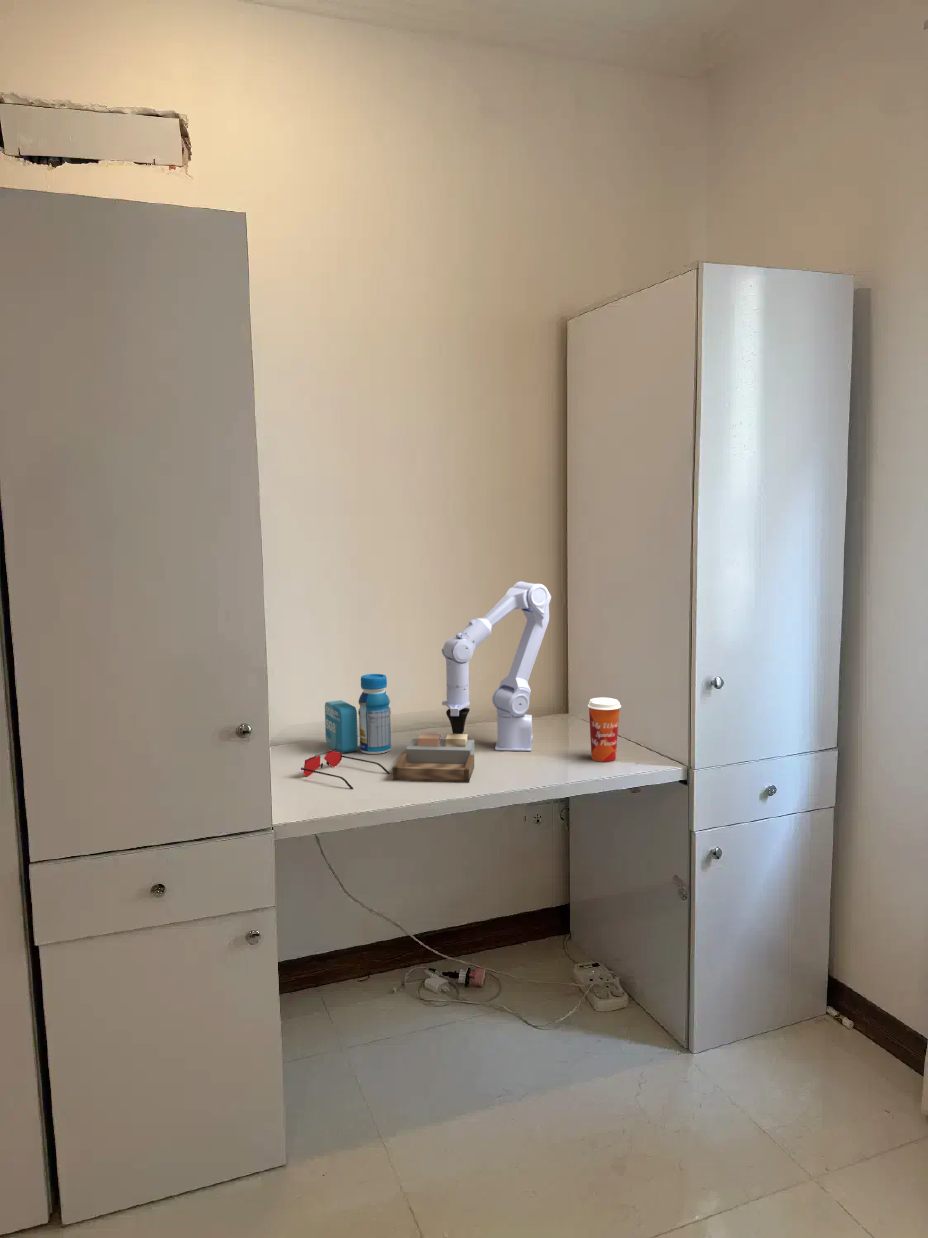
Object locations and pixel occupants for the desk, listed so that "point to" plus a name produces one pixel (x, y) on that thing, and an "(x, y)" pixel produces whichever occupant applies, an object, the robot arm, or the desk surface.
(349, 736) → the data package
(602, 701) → the coffee cup
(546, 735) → the desk surface
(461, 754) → the slate slab
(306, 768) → the glasses
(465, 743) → the ash tile
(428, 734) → the terracotta tile
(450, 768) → the walnut box
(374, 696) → the beverage bottle
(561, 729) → the desk surface
